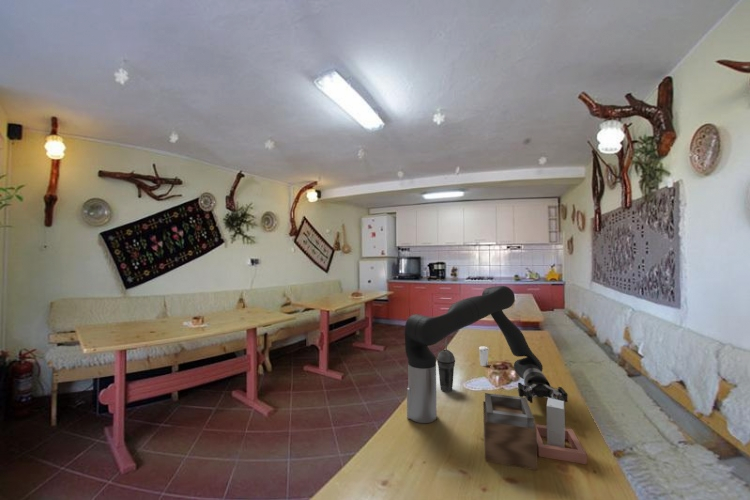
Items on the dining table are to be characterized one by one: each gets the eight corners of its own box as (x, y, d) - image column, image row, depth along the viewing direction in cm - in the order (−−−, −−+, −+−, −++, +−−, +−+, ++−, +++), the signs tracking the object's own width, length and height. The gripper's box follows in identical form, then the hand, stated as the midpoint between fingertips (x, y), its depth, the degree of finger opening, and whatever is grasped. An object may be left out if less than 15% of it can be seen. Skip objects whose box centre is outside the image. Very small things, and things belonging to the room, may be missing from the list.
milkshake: (491, 367, 149) (491, 346, 149) (479, 366, 150) (479, 345, 150) (489, 364, 154) (489, 343, 154) (478, 363, 155) (478, 343, 155)
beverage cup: (435, 391, 122) (434, 340, 123) (438, 384, 129) (438, 336, 129) (454, 394, 119) (453, 342, 120) (456, 387, 126) (456, 337, 127)
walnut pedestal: (485, 460, 80) (485, 411, 81) (483, 435, 92) (483, 392, 92) (537, 470, 77) (536, 418, 77) (528, 442, 88) (527, 397, 88)
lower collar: (538, 456, 82) (538, 446, 82) (530, 432, 93) (530, 423, 93) (586, 464, 79) (586, 454, 79) (572, 438, 90) (571, 429, 90)
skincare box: (565, 455, 82) (564, 409, 83) (546, 450, 85) (546, 405, 85) (565, 443, 87) (564, 400, 88) (548, 439, 90) (547, 397, 90)
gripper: (514, 369, 114) (521, 386, 99) (557, 373, 110) (572, 392, 95) (514, 390, 114) (521, 410, 99) (558, 394, 110) (572, 417, 95)
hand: (546, 401), depth 97 cm, fingers open, 8 cm apart
